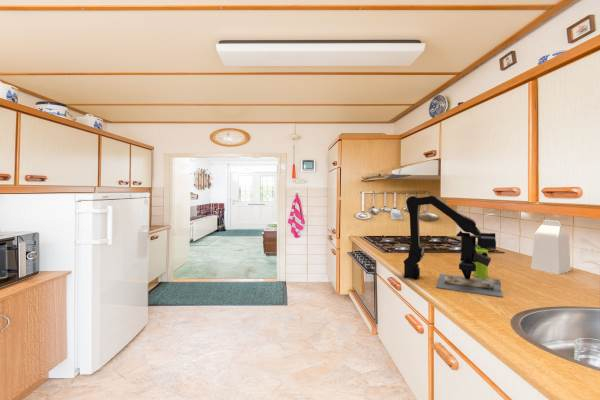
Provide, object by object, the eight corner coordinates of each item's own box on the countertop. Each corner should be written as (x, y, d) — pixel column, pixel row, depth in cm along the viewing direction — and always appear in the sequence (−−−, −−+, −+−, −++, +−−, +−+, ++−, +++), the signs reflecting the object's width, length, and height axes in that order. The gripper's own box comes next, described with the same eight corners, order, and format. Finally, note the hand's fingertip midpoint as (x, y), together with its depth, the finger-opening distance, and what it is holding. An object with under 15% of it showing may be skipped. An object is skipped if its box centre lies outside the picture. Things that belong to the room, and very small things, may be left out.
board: (436, 288, 126) (436, 286, 126) (440, 274, 145) (440, 273, 145) (503, 297, 114) (503, 296, 114) (497, 281, 133) (497, 280, 133)
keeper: (481, 290, 122) (481, 280, 122) (480, 286, 127) (481, 277, 127) (500, 293, 119) (500, 282, 119) (499, 289, 124) (499, 279, 123)
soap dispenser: (487, 279, 137) (488, 237, 136) (471, 276, 142) (472, 235, 141) (491, 276, 141) (492, 236, 140) (475, 273, 146) (476, 234, 145)
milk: (531, 268, 154) (531, 219, 153) (543, 265, 159) (543, 218, 158) (558, 274, 144) (559, 222, 143) (570, 271, 148) (571, 220, 147)
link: (444, 283, 130) (444, 277, 129) (444, 281, 134) (444, 274, 133) (490, 289, 122) (490, 282, 122) (488, 286, 126) (488, 279, 126)
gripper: (490, 253, 117) (489, 291, 118) (489, 244, 133) (488, 278, 133) (459, 250, 123) (458, 286, 123) (461, 242, 139) (460, 274, 139)
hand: (467, 281), depth 130 cm, fingers closed
